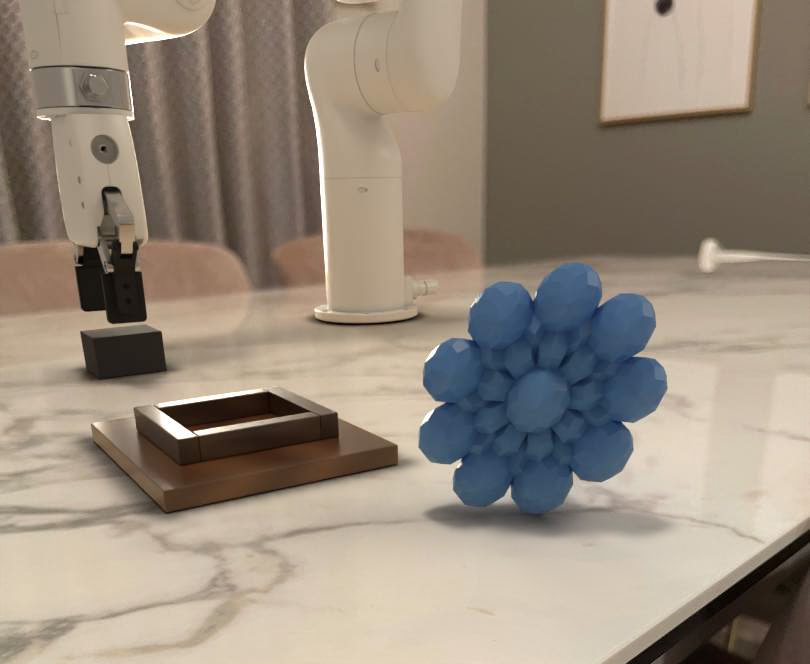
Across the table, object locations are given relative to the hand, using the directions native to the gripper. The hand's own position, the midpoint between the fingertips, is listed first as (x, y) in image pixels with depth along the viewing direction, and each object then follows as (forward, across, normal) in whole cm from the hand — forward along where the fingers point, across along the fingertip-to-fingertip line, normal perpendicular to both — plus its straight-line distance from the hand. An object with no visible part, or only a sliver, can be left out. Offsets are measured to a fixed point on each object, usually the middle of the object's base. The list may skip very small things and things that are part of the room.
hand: (112, 316), depth 75 cm
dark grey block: (+5, 0, -1) cm, 5 cm away
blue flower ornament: (+5, -48, -9) cm, 49 cm away
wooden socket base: (+5, -30, 0) cm, 30 cm away
